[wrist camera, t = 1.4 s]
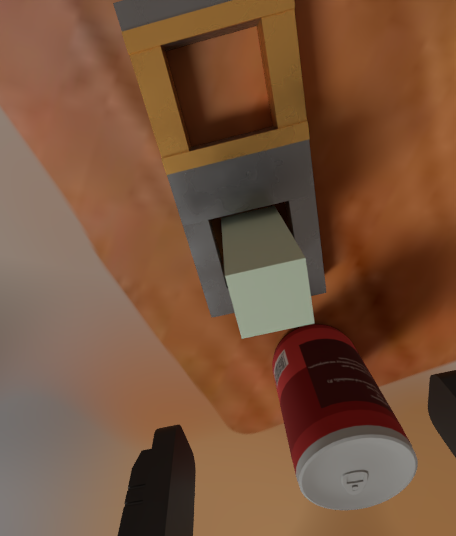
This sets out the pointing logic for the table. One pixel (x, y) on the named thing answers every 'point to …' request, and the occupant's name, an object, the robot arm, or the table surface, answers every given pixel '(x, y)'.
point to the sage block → (265, 273)
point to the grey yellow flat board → (233, 148)
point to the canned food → (338, 422)
